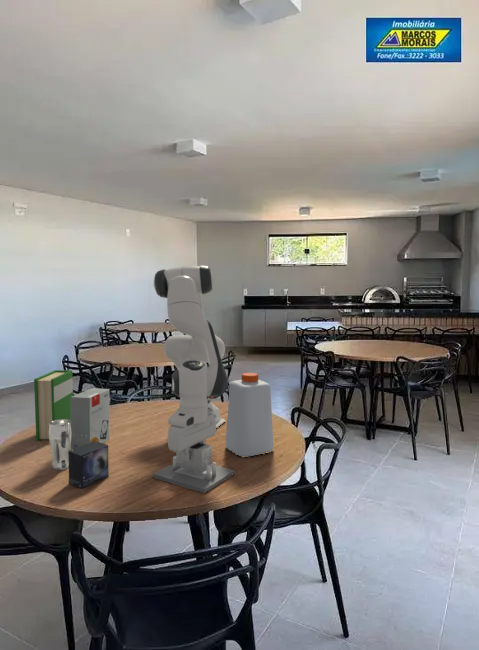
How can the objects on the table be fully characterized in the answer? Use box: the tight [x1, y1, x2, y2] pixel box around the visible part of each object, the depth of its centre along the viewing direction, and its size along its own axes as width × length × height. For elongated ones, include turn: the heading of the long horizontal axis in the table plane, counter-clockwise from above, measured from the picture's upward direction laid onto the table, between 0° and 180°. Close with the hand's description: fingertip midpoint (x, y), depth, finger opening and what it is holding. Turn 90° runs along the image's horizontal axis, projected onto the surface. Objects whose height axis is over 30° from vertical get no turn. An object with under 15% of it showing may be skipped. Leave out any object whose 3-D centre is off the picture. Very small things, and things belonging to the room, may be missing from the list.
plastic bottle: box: [225, 372, 274, 458], centre depth 165 cm, size 15×15×28 cm
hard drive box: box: [70, 387, 111, 450], centre depth 169 cm, size 16×8×20 cm, turn 168°
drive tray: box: [152, 455, 236, 494], centre depth 143 cm, size 16×20×5 cm
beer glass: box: [48, 419, 72, 471], centre depth 149 cm, size 7×7×15 cm
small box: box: [68, 441, 110, 489], centre depth 139 cm, size 11×6×10 cm, turn 148°
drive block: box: [175, 443, 212, 473], centre depth 143 cm, size 5×10×7 cm, turn 58°
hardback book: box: [33, 369, 74, 442], centre depth 182 cm, size 18×7×24 cm, turn 178°
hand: (193, 456), depth 143 cm, fingers closed on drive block, 5 cm apart
